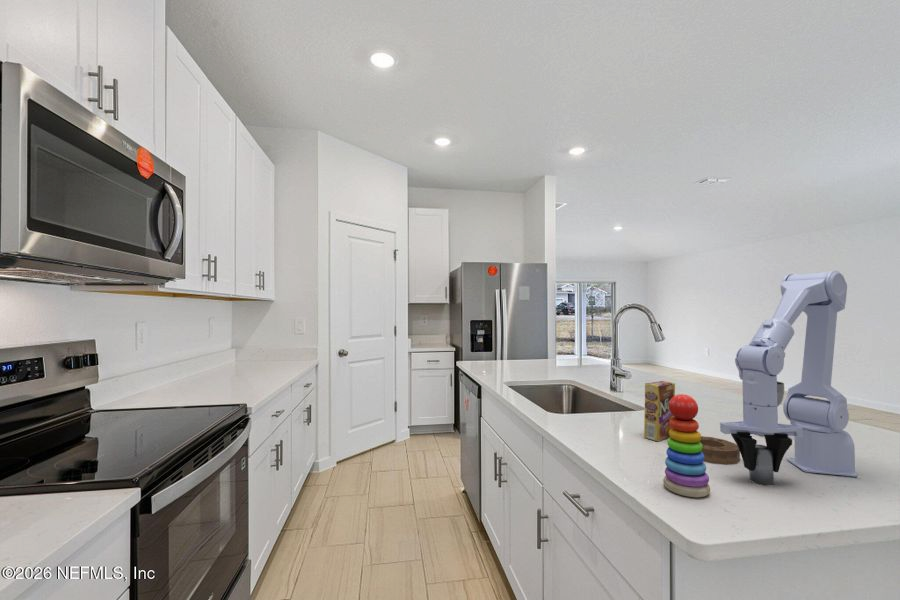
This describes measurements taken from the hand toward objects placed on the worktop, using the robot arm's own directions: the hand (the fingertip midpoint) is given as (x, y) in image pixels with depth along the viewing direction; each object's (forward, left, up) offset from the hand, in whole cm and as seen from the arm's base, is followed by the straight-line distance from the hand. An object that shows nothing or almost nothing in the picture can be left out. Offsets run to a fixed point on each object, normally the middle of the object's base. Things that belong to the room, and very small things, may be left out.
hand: (761, 469), depth 83 cm
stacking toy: (+16, +9, -3) cm, 19 cm away
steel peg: (0, 0, -2) cm, 2 cm away
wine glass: (-16, -38, -3) cm, 41 cm away
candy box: (+14, -26, -3) cm, 30 cm away
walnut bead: (+5, -14, -2) cm, 15 cm away
